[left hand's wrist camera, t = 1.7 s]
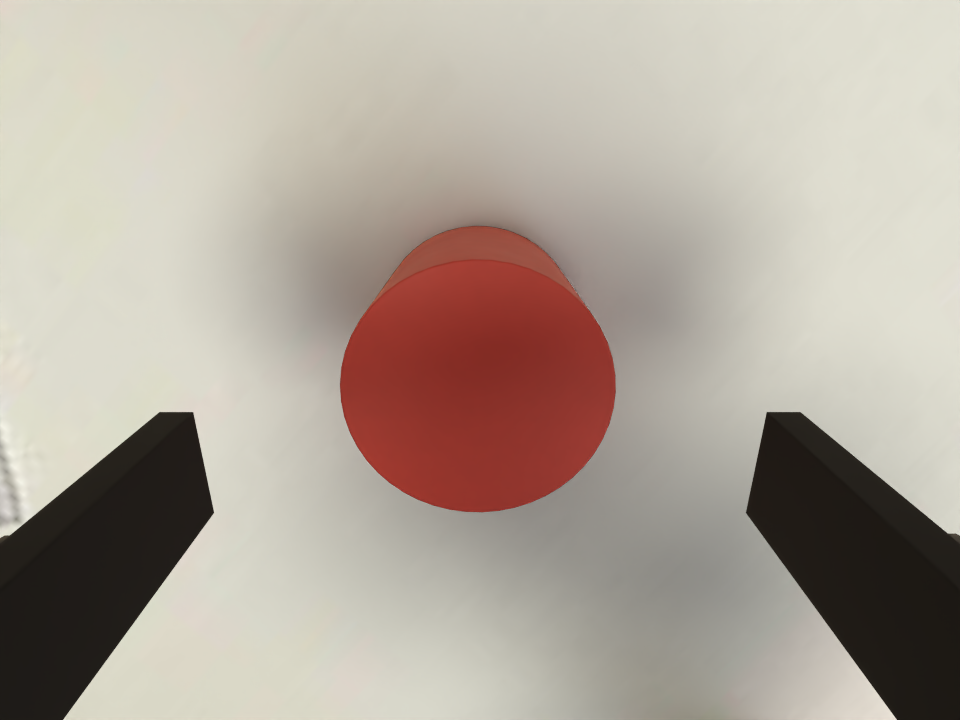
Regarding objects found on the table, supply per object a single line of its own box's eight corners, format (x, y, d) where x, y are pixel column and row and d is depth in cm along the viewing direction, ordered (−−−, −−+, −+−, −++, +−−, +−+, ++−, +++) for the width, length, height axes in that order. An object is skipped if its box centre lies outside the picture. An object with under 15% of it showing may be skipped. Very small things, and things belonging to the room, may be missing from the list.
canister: (614, 302, 24) (674, 367, 17) (499, 443, 26) (506, 553, 19) (453, 183, 22) (441, 197, 15) (345, 345, 25) (289, 426, 17)
